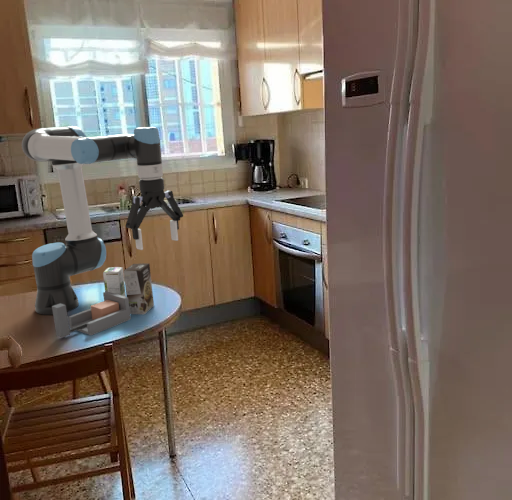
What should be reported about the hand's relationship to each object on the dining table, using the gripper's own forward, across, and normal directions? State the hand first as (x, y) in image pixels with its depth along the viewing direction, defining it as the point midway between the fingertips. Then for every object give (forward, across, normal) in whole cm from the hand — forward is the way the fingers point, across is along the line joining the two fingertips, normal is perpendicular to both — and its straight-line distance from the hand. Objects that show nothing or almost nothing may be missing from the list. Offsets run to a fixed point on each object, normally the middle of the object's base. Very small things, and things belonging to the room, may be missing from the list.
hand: (157, 244), depth 176 cm
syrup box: (+27, -2, +27) cm, 38 cm away
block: (+26, -19, +17) cm, 36 cm away
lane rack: (+27, -14, +18) cm, 35 cm away
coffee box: (+27, +2, +17) cm, 32 cm away
